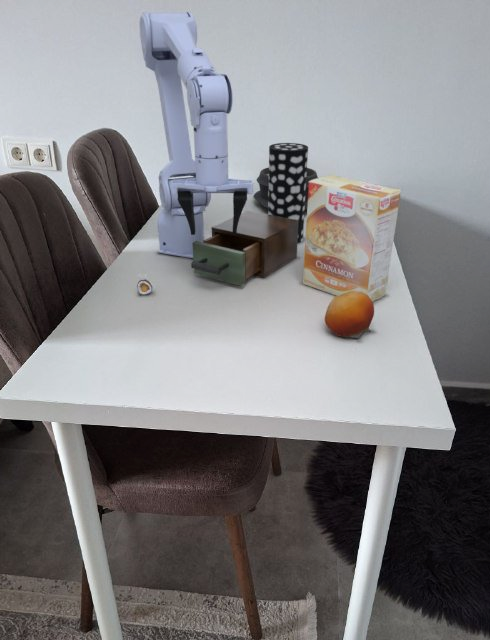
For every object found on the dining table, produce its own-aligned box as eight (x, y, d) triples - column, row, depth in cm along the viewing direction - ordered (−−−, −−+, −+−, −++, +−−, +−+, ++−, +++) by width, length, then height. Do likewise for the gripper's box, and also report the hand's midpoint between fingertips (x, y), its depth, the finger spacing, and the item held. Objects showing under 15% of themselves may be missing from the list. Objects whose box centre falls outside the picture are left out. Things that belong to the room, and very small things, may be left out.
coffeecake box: (301, 284, 112) (307, 180, 101) (323, 273, 116) (331, 173, 105) (364, 307, 103) (379, 197, 92) (386, 295, 108) (402, 188, 96)
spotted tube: (262, 242, 131) (263, 148, 120) (274, 231, 138) (277, 141, 126) (296, 247, 129) (301, 152, 117) (307, 235, 135) (313, 144, 124)
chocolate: (155, 291, 109) (153, 271, 106) (152, 296, 107) (150, 275, 105) (139, 290, 109) (137, 270, 107) (136, 295, 107) (134, 275, 105)
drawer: (229, 293, 106) (228, 261, 102) (180, 280, 111) (178, 248, 107) (275, 265, 117) (276, 235, 114) (229, 254, 122) (228, 225, 119)
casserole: (322, 218, 146) (325, 184, 141) (250, 216, 147) (250, 182, 142) (319, 192, 166) (322, 161, 161) (256, 190, 167) (256, 160, 162)
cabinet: (264, 278, 114) (264, 238, 109) (212, 265, 119) (211, 227, 115) (296, 257, 123) (298, 220, 119) (247, 246, 129) (247, 210, 124)
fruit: (372, 342, 90) (352, 296, 87) (331, 353, 95) (311, 309, 93) (390, 322, 95) (372, 278, 93) (350, 333, 100) (332, 292, 98)
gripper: (166, 160, 95) (172, 240, 103) (253, 160, 95) (253, 240, 103) (171, 151, 101) (176, 227, 108) (253, 151, 101) (252, 227, 109)
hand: (214, 233), depth 106 cm, fingers open, 7 cm apart
